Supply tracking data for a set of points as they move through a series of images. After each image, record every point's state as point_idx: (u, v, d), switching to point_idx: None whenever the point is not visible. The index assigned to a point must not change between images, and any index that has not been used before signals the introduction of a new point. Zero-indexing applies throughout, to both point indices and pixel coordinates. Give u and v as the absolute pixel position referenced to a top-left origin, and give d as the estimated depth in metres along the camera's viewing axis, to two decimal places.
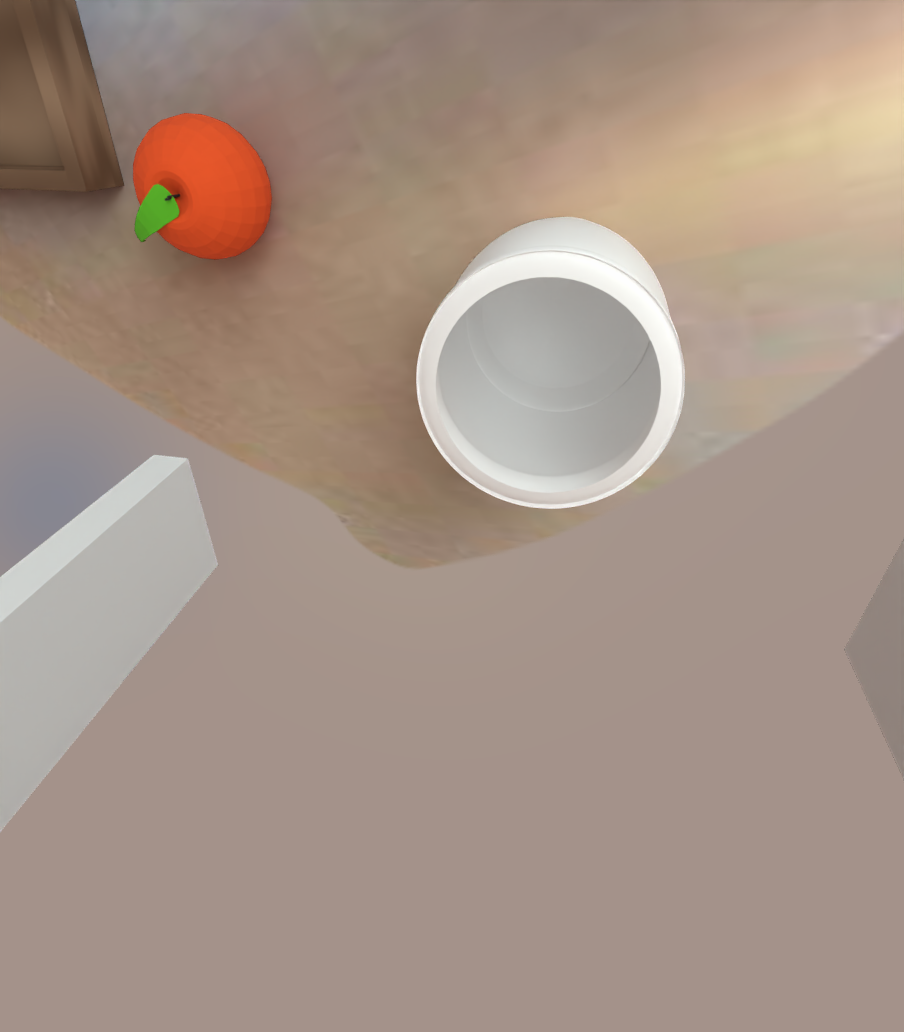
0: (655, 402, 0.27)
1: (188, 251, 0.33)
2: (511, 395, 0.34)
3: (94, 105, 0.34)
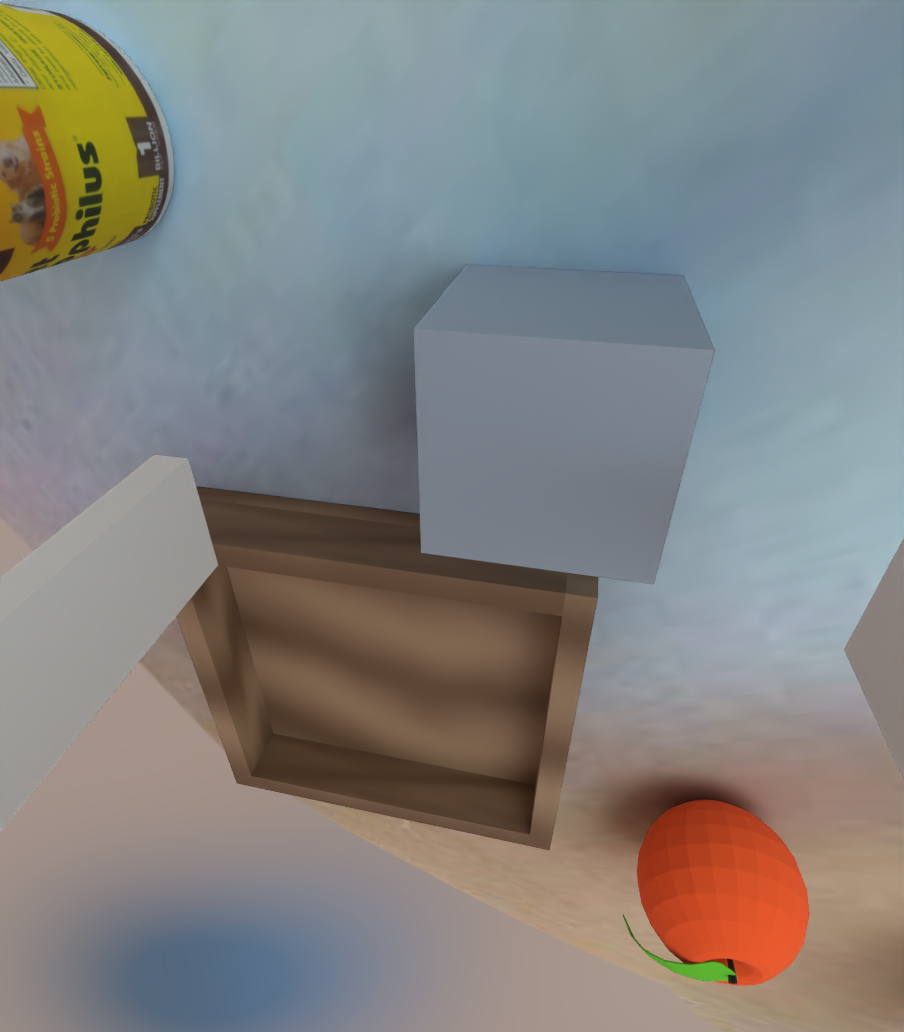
0: None
1: None
2: None
3: None
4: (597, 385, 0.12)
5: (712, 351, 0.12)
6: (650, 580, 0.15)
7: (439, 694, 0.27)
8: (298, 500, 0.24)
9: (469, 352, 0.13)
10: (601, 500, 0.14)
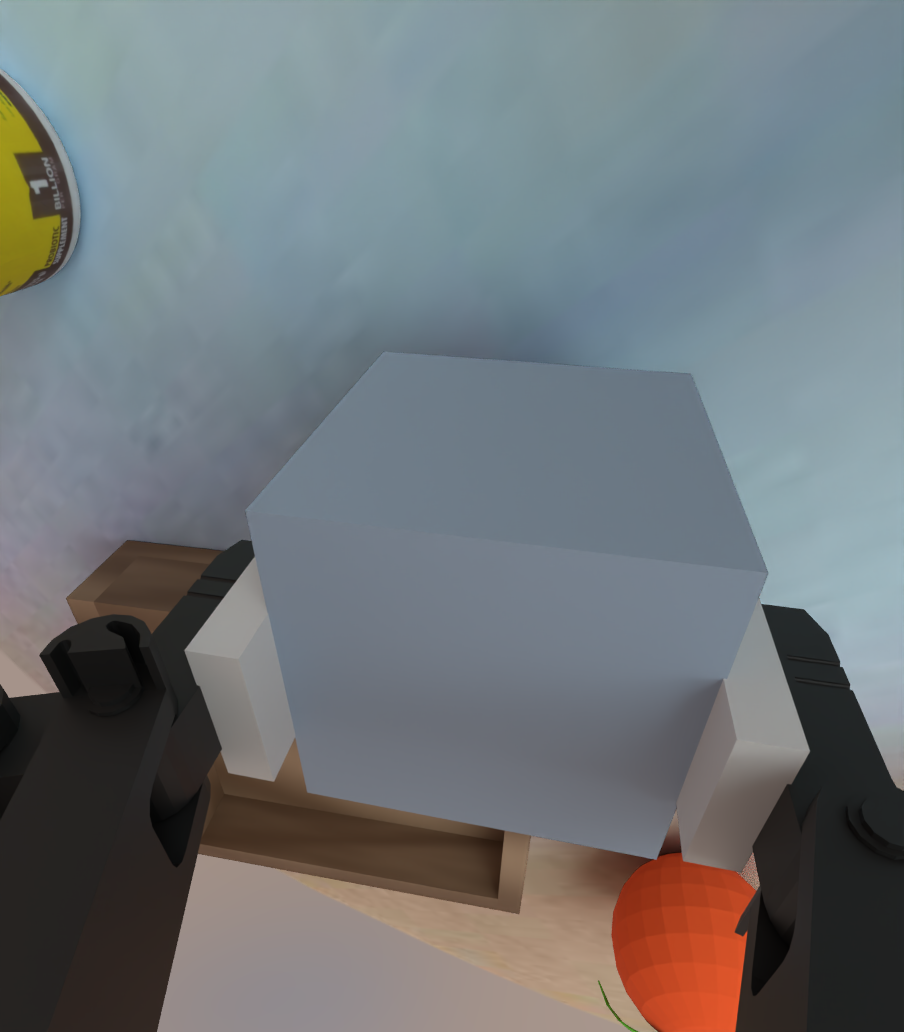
0: None
1: None
2: None
3: None
4: (561, 609, 0.07)
5: (765, 573, 0.06)
6: (651, 854, 0.10)
7: None
8: None
9: (342, 550, 0.07)
10: (573, 757, 0.09)
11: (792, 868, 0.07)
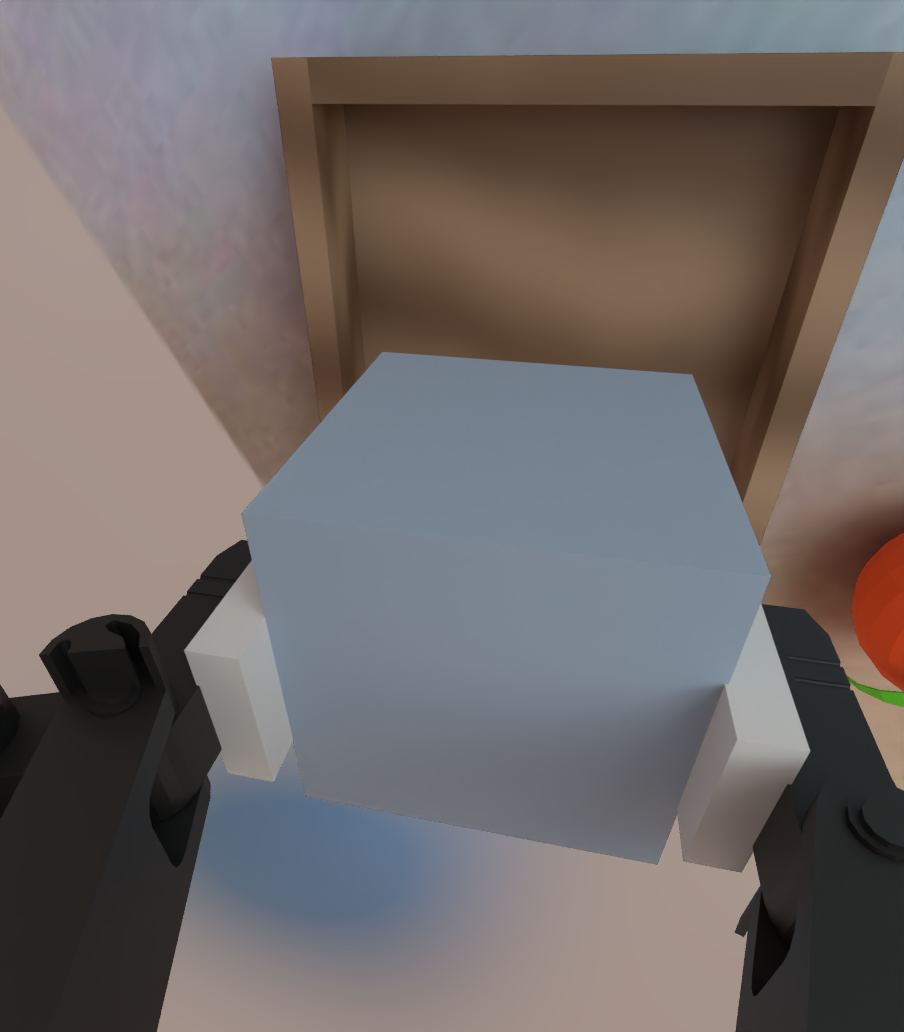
0: None
1: None
2: None
3: None
4: (561, 612, 0.07)
5: (768, 577, 0.06)
6: (652, 859, 0.10)
7: None
8: None
9: (339, 553, 0.07)
10: (573, 761, 0.09)
11: (792, 868, 0.07)
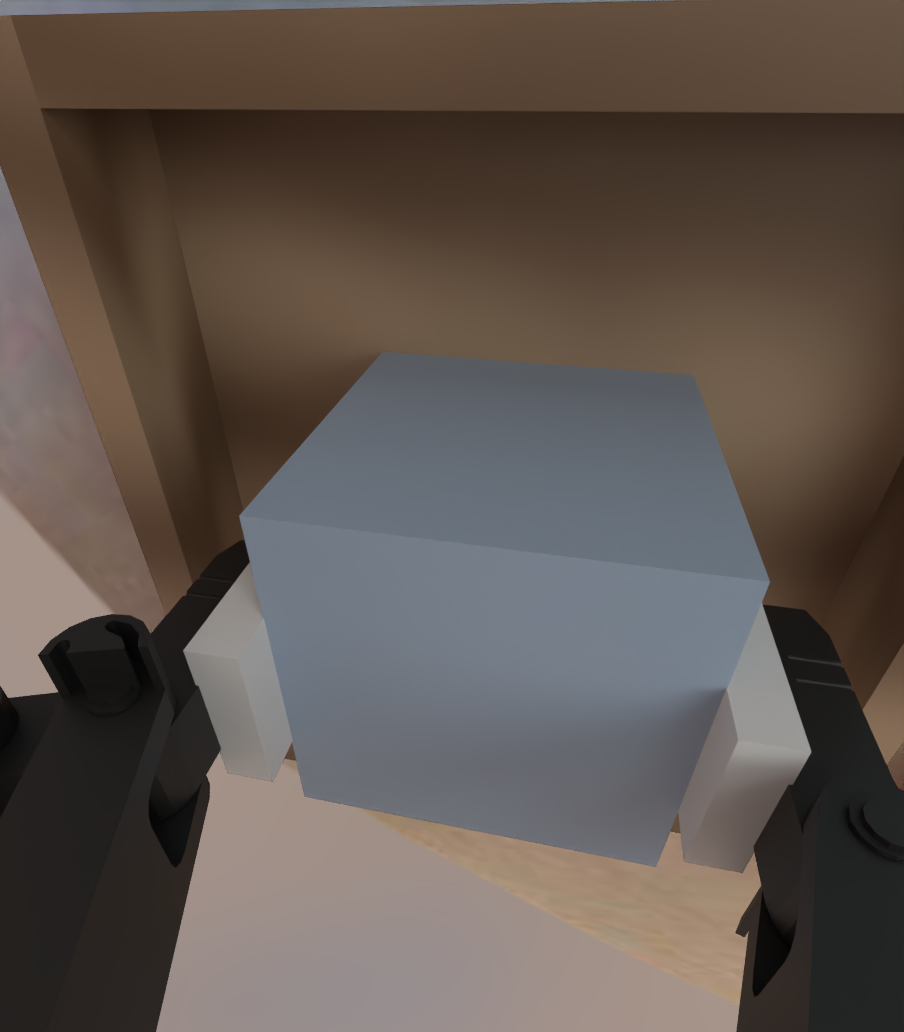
0: None
1: None
2: None
3: None
4: (560, 616, 0.07)
5: (766, 582, 0.06)
6: (651, 861, 0.10)
7: None
8: None
9: (337, 556, 0.07)
10: (571, 764, 0.09)
11: (793, 869, 0.06)
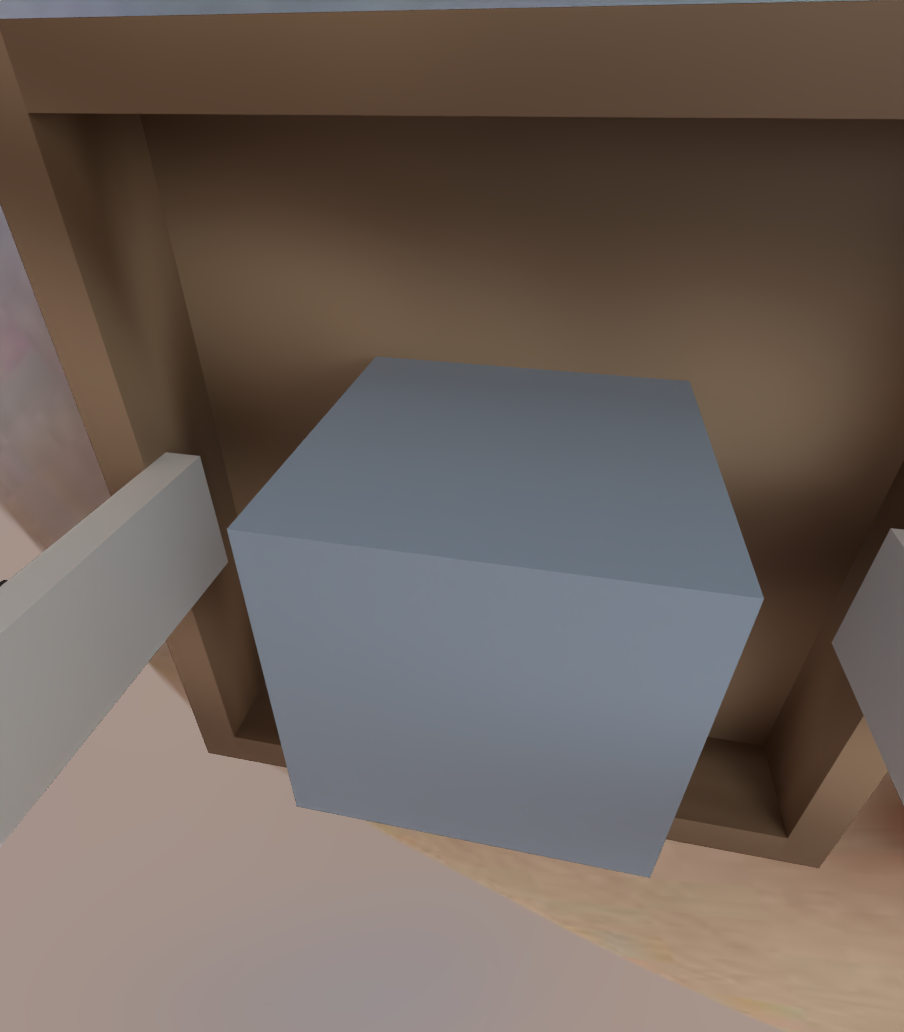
0: None
1: None
2: None
3: None
4: (551, 631, 0.07)
5: (760, 599, 0.06)
6: (644, 873, 0.10)
7: None
8: None
9: (327, 570, 0.07)
10: (565, 776, 0.09)
11: None
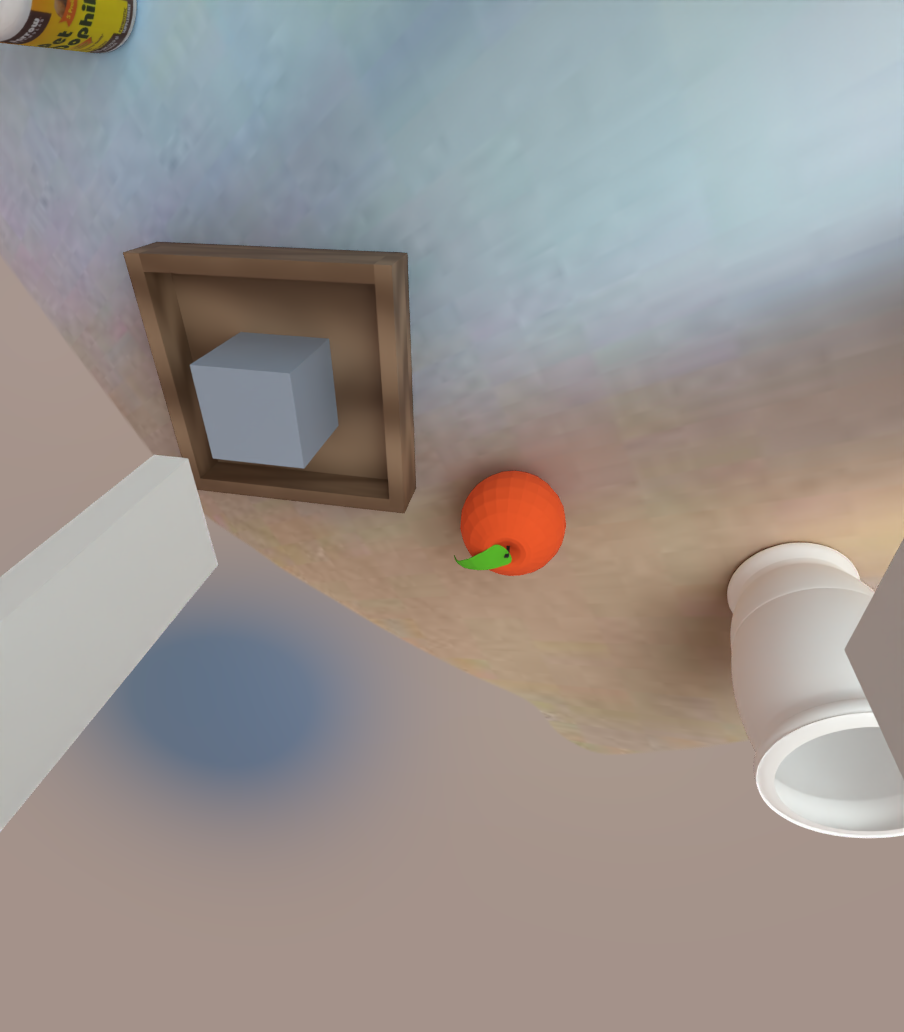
0: None
1: None
2: None
3: (411, 443, 0.41)
4: (257, 385, 0.34)
5: (289, 373, 0.33)
6: (302, 466, 0.36)
7: None
8: (222, 246, 0.36)
9: (210, 373, 0.34)
10: (273, 431, 0.35)
11: None
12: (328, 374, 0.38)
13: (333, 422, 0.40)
